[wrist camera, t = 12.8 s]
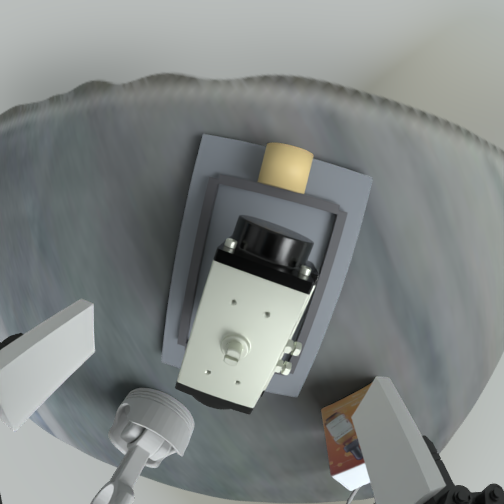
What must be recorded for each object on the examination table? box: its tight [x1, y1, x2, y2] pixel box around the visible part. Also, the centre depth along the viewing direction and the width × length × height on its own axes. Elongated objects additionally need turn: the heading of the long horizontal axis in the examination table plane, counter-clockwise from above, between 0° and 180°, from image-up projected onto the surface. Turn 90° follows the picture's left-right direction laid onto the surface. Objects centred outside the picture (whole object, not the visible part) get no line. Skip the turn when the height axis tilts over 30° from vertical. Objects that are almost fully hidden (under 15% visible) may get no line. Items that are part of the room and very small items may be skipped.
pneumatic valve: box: [175, 215, 320, 414], centre depth 18 cm, size 6×12×12 cm, turn 161°
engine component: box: [91, 388, 194, 504], centre depth 20 cm, size 11×20×10 cm
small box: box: [321, 383, 372, 491], centre depth 22 cm, size 8×6×10 cm
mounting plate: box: [161, 134, 373, 397], centre depth 22 cm, size 23×15×5 cm, turn 166°
